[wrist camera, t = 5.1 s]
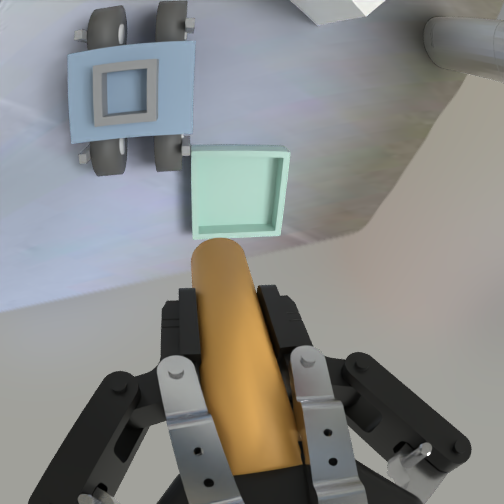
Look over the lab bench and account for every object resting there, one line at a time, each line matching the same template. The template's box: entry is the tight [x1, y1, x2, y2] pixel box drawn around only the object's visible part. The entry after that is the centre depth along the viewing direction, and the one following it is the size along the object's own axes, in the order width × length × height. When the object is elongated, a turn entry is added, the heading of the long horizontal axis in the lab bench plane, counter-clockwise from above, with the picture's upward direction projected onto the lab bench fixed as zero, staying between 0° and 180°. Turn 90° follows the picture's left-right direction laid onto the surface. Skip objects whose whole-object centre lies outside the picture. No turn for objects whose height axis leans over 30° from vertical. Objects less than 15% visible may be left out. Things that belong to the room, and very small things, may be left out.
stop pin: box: [191, 238, 302, 476], centre depth 12 cm, size 3×3×11 cm
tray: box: [191, 145, 291, 240], centre depth 40 cm, size 12×12×3 cm
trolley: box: [68, 1, 196, 176], centre depth 27 cm, size 12×20×12 cm, turn 176°
